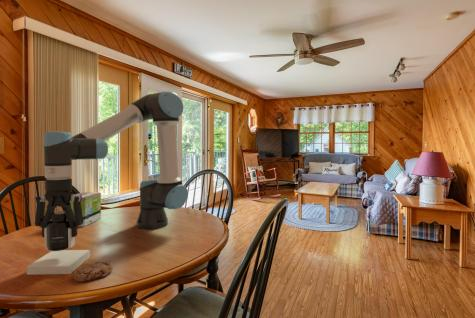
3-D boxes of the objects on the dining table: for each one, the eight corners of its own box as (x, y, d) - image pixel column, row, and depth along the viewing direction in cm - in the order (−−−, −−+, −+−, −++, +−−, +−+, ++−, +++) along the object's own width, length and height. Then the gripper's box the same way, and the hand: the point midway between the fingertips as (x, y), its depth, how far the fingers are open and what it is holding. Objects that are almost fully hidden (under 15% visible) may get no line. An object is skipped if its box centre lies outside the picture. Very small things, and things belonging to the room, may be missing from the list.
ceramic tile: (90, 256, 98) (89, 249, 98) (69, 273, 85) (69, 266, 85) (52, 257, 97) (52, 250, 97) (26, 274, 84) (26, 266, 84)
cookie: (66, 280, 81) (66, 270, 81) (95, 265, 91) (95, 257, 91) (90, 286, 78) (90, 276, 78) (118, 270, 88) (118, 261, 88)
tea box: (85, 227, 132) (85, 197, 131) (65, 226, 132) (64, 196, 131) (101, 218, 147) (101, 191, 146) (83, 218, 147) (82, 191, 146)
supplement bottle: (53, 253, 86) (52, 216, 85) (43, 248, 89) (42, 213, 89) (76, 246, 92) (75, 211, 91) (65, 242, 95) (65, 209, 94)
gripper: (18, 179, 85) (21, 251, 86) (83, 179, 86) (84, 250, 87) (35, 176, 92) (37, 242, 94) (94, 177, 93) (95, 242, 95)
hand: (60, 246), depth 90 cm, fingers closed on supplement bottle, 7 cm apart
